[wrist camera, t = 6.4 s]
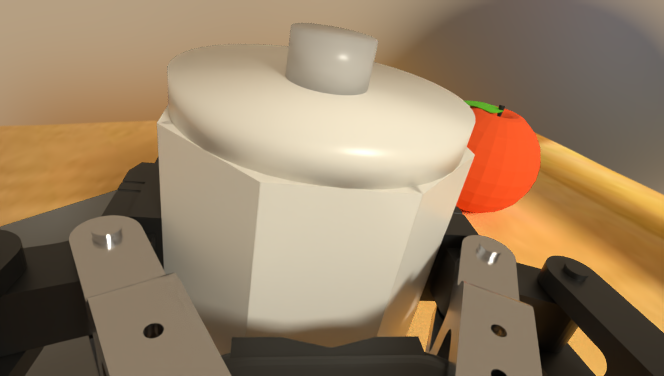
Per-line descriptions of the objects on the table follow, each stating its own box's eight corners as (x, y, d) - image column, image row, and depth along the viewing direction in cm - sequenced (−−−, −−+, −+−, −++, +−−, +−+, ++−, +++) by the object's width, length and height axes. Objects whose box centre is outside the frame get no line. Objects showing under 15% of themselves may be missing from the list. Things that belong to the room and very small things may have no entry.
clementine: (383, 194, 27) (411, 91, 23) (422, 165, 32) (449, 77, 29) (502, 249, 24) (555, 138, 20) (523, 206, 29) (568, 113, 25)
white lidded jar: (276, 279, 17) (312, 5, 12) (404, 370, 14) (528, 63, 9) (134, 376, 13) (91, -6, 7) (284, 542, 10) (396, 108, 4)
